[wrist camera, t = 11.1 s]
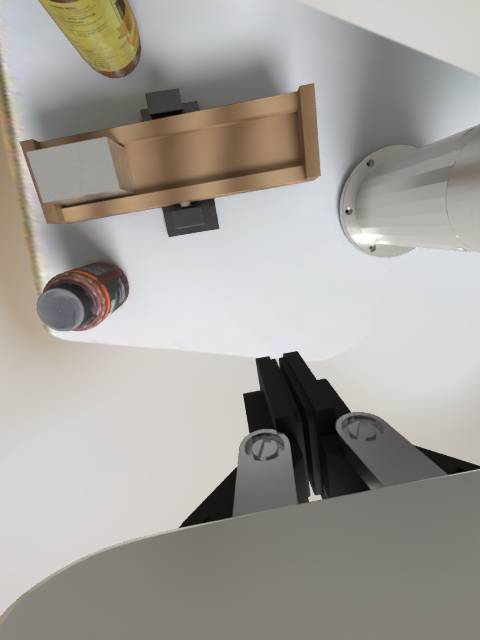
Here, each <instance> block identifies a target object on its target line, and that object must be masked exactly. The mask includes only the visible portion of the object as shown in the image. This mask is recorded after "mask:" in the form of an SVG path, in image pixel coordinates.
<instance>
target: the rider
mask: <svg viewBox="0 0 480 640" xmlns="http://www.w3.org/2000/svg"><path fill="white" fill-rule="evenodd" d="M26 153H27V156H28V159H29V162H30V165H31V168H32V171H33V174H34V177H35V180H36V183H37V186H38V189H39V192H40V195H41V198H42V201H43V203H49V204H58V205H67V206H71V205H76V204H82V203H88V202H93V201H99V200H105V199H110V198H116V197H122V196H127V195H133V194H136V189H135V185H134V181H133V177H132V173H131V169H130V165H129V160H128V156H127V152H126V149H125V148H124V147H122V146H121V145H119V144H117V143H116V142H114V141H113V140H111V139H109V138H108V137H102V138H97V139H92V140H86V141H81V142H76V143H71V144H66V145H60V146H55V147H50V148H45V149H40V150H35V151H29V152H26Z"/></svg>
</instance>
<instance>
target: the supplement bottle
mask: <svg viewBox="0 0 480 640" xmlns="http://www.w3.org/2000/svg"><path fill="white" fill-rule="evenodd" d="M128 293H129V285H128V281H127V279H126V277H125V275H124V274H123V273H122V272H121V271H120V270H119V269H118V268H117V267H115V266H113V265H111V264H108V263H93V264H90V265H86V266H83V267H80V268H76V269H73V270H70V271H66V272H64V273H61V274H58V275H56V276H55V277H53V278H52V279H51V280H50V281H49V282H48V283H47V284H46V286H45V288H44V290H43V293H42V294H41V295H40V297H39V299H38V302H37V312H38V315H39V317H40V318H41V320H42V321H43V322H44V323H45V324H46V325H47V326H49V327H50V328H52V329H54V330H57V331H70V330H72V331H84V330H88V329H91V328H93V327H95V326H97V325H98V324H99V323H101V322H102V321H103V320H104V319H105V318H107V317H108V316H109V315H110V314H112V313H113V312H114V311H115V310H116V309H118V308H119V307H120V306H121V305H122V304H123V303H124V302H125V301H126V299H127V297H128Z"/></svg>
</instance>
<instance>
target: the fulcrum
mask: <svg viewBox="0 0 480 640" xmlns="http://www.w3.org/2000/svg"><path fill="white" fill-rule="evenodd" d="M145 95H146V100H147V104H148V109H143V110H141V114H142V119H143V122H145V121H150V120H155V119H160V118H165V117H170V116H175V115H180V114H186V113H191V112H196V111H199V109H198V103H197V101H195V102H189V103H182V100H181V96H180V92H179V89H172V90H166V91H159V92H152V93H146V94H145ZM190 205H191V206H189V207H182V208H181V206H180V204H177V205H171V206H166V207H162V208H163V213H164V217H165V222H166V226H167V231H168V235H169V237H172V236H178V235H184V234H190V233H196V232H202V231H208V230H214V229H219V225H218V219H217V213H216V208H215V202H214V198H211V199H206V200H200V201H194V202H190Z"/></svg>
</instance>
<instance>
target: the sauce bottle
mask: <svg viewBox="0 0 480 640" xmlns="http://www.w3.org/2000/svg"><path fill="white" fill-rule="evenodd" d="M38 1H39V2H40V3H41V5H42V6H43V7H44V8H45V10H46V11H47V12H48V14H49V15H50V16H51V18H52V19H53V20H54V21H55V23H56V24H57V25H58V27H59V28H60V29H61V31H62V32H63V33H64V35H65V36H66V37H67V39H68V40H69V41H70V42H71V44H72V45H73V46H74V47H75V49H76V50H77V51H78V53H79V54H80V55H81V56H82V58H83V59H84V60H85V61H86V62H87V63H88V64H89V65H90V66H91V67H92V68H93V69H94V70H96V71H97V72H98V73H101V74H103V75H104V76H107V77H109V78H120V77H124V76H126V75H127V74H129V73H131V72H132V71H133V70H134V69H135V67H136V66H137V64H138V61H139V57H140V53H141V46H140V39H139V32H138V27H137V23H136V21H135V18H134V15H133V13H132V10H131V8H130V5H129V3H128V0H38Z"/></svg>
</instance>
